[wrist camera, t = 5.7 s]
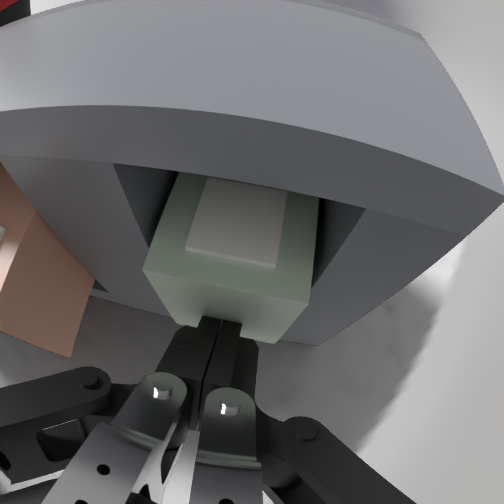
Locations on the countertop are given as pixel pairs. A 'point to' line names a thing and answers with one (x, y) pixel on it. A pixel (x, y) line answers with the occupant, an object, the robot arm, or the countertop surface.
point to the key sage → (234, 254)
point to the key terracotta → (37, 277)
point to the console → (243, 136)
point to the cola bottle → (13, 10)
